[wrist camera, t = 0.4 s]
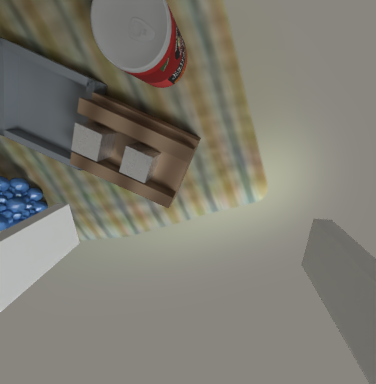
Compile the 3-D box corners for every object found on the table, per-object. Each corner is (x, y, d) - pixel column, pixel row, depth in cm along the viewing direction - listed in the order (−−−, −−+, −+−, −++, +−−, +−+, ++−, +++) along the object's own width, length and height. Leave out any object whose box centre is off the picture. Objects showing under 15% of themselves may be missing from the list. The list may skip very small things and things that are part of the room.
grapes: (12, 170, 39) (-70, 189, 28) (38, 165, 37) (-38, 184, 26) (37, 218, 43) (-26, 252, 32) (61, 215, 41) (4, 250, 30)
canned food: (186, 90, 28) (168, 73, 18) (137, 86, 29) (93, 69, 19) (190, 28, 25) (172, -33, 15) (136, 26, 26) (84, -33, 16)
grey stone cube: (89, 146, 30) (71, 150, 26) (93, 122, 28) (75, 122, 24) (111, 156, 30) (96, 161, 26) (117, 133, 28) (102, 134, 25)
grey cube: (131, 165, 30) (119, 171, 26) (138, 142, 28) (126, 145, 25) (153, 175, 30) (144, 183, 26) (161, 153, 28) (153, 158, 25)
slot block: (94, 160, 35) (69, 169, 29) (107, 95, 30) (80, 89, 24) (175, 197, 35) (166, 213, 29) (200, 138, 30) (196, 142, 24)
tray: (15, 132, 35) (-2, 133, 33) (16, 43, 29) (-5, 35, 27) (90, 166, 36) (80, 170, 33) (106, 84, 30) (95, 81, 27)
